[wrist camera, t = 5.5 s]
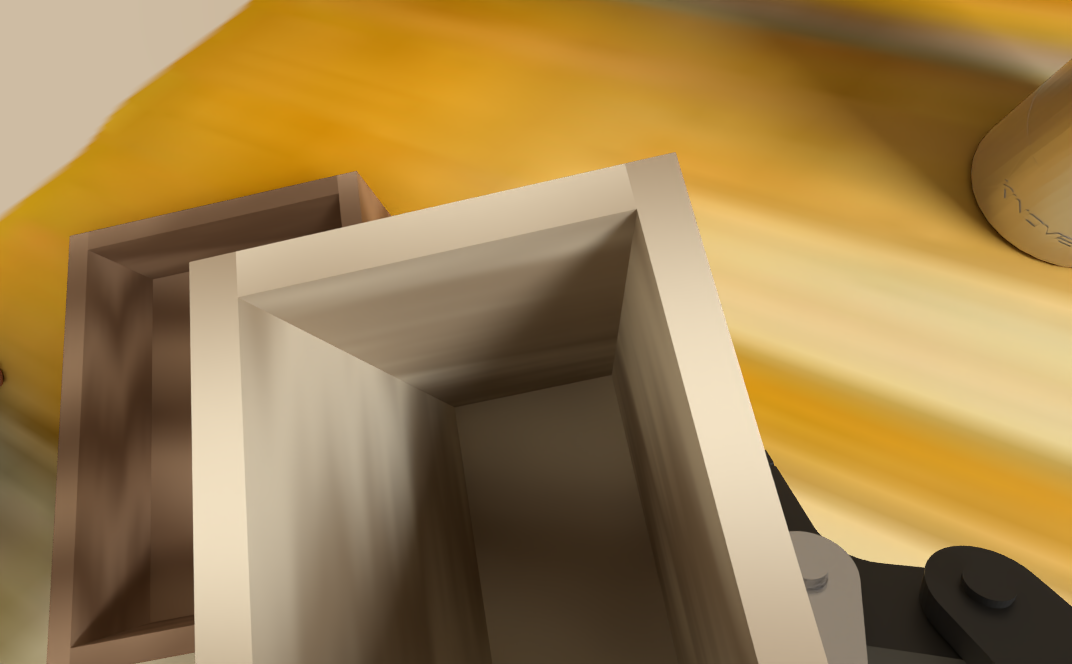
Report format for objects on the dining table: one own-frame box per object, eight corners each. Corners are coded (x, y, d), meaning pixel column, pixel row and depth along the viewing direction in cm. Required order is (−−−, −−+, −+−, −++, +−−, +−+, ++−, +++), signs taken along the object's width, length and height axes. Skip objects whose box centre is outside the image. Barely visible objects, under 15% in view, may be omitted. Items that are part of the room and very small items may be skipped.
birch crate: (437, 394, 17) (190, 262, 7) (626, 355, 17) (674, 151, 6) (483, 720, 15) (203, 1319, 4) (704, 681, 15) (996, 1224, 4)
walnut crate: (147, 272, 32) (69, 236, 28) (392, 217, 32) (356, 171, 27) (143, 644, 27) (45, 680, 22) (439, 588, 26) (404, 613, 21)
